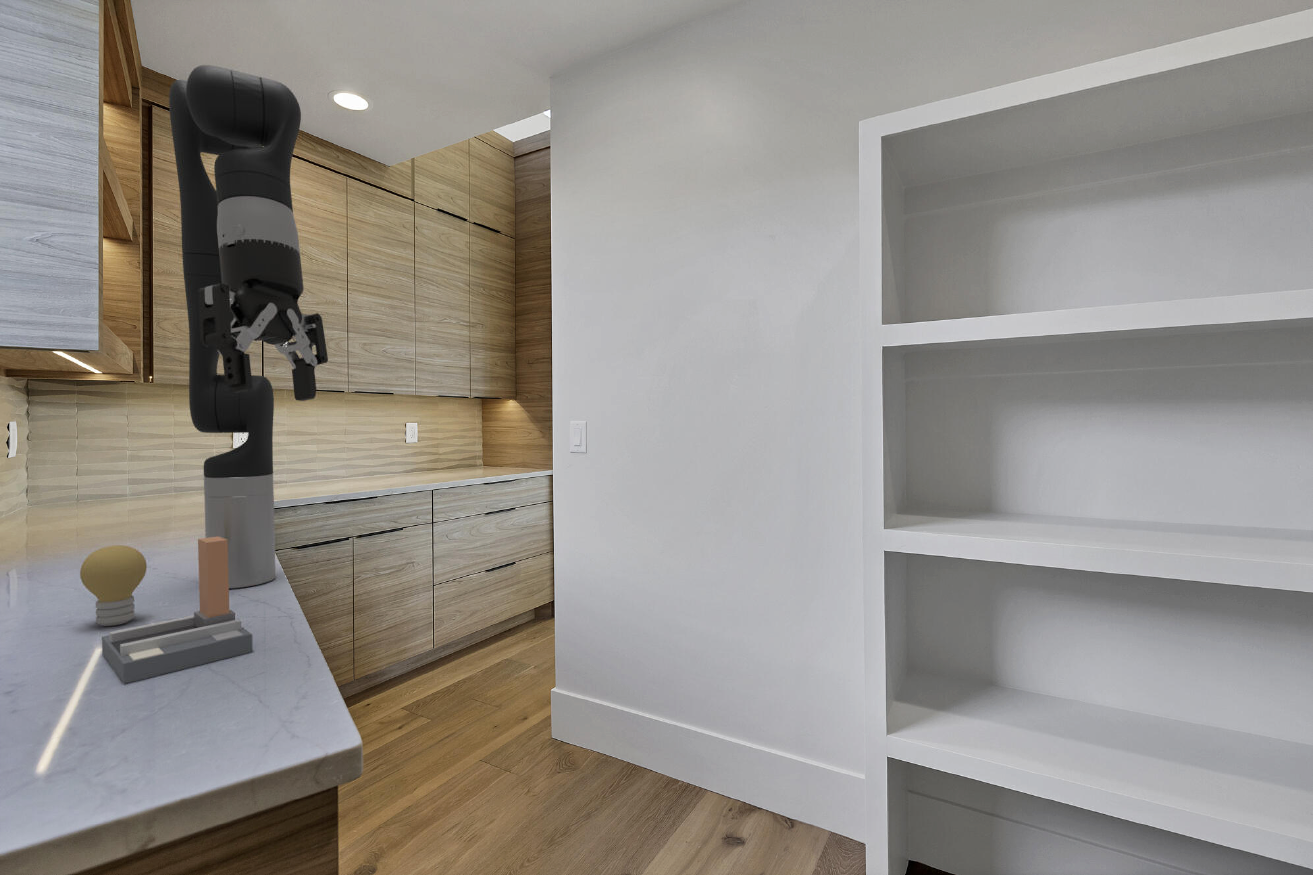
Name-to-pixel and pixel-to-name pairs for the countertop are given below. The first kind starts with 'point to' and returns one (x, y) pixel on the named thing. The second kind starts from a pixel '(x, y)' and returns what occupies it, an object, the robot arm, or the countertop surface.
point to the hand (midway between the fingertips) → (275, 395)
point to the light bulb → (113, 582)
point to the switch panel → (172, 647)
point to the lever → (213, 582)
